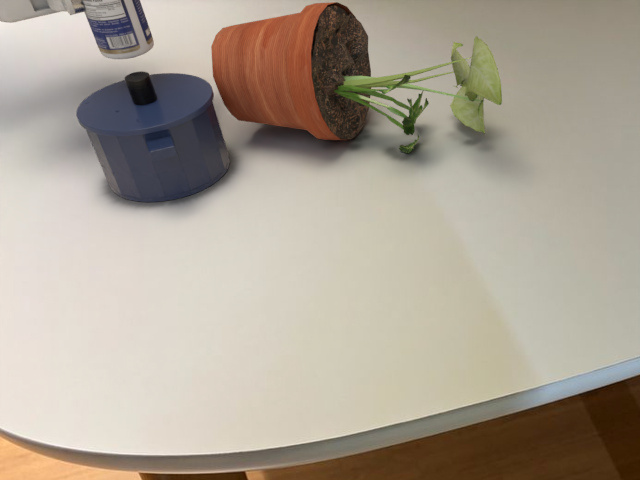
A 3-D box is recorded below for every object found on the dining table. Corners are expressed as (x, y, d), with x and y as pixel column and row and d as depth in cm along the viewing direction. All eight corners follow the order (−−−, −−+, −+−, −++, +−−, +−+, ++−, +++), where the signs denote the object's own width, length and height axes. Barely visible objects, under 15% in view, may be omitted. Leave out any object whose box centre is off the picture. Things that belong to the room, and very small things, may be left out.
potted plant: (228, 172, 90) (530, 177, 81) (179, 31, 80) (516, 19, 71) (289, 117, 102) (560, 116, 92) (253, -12, 92) (552, -28, 83)
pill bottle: (128, 37, 86) (92, -64, 79) (166, 44, 84) (133, -58, 77) (89, 56, 82) (48, -47, 75) (128, 64, 80) (90, -41, 74)
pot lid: (86, 154, 76) (70, 118, 74) (76, 100, 85) (61, 66, 83) (226, 122, 80) (216, 86, 77) (203, 74, 89) (193, 40, 86)
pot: (119, 227, 80) (89, 158, 74) (103, 150, 92) (76, 86, 86) (245, 194, 83) (225, 127, 78) (213, 125, 95) (194, 62, 90)
